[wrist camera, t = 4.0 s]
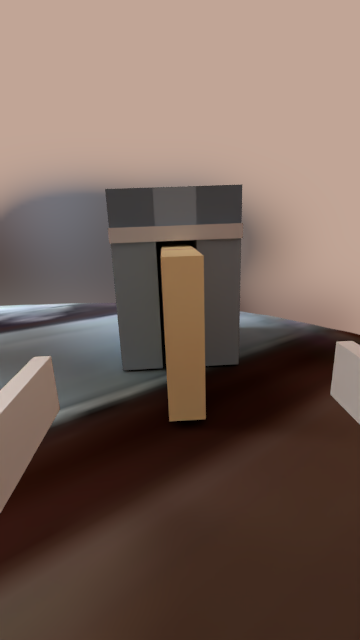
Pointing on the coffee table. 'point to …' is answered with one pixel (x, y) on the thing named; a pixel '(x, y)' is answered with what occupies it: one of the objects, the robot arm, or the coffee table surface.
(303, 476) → the coffee table surface
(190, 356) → the taped cardboard box
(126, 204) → the dispenser
